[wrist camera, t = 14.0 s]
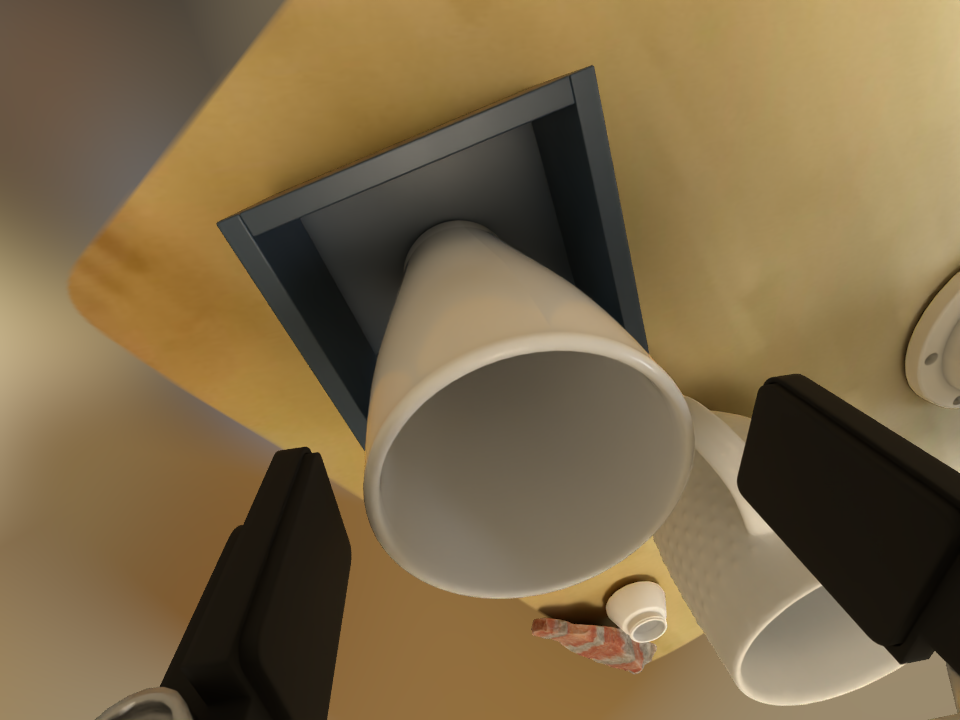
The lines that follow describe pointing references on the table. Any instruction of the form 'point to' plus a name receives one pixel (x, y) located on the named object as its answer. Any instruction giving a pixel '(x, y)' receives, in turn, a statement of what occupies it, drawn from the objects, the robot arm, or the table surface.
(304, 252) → the bin
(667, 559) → the mug
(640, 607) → the lidless jar
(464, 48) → the table surface
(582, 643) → the stone
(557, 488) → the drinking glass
